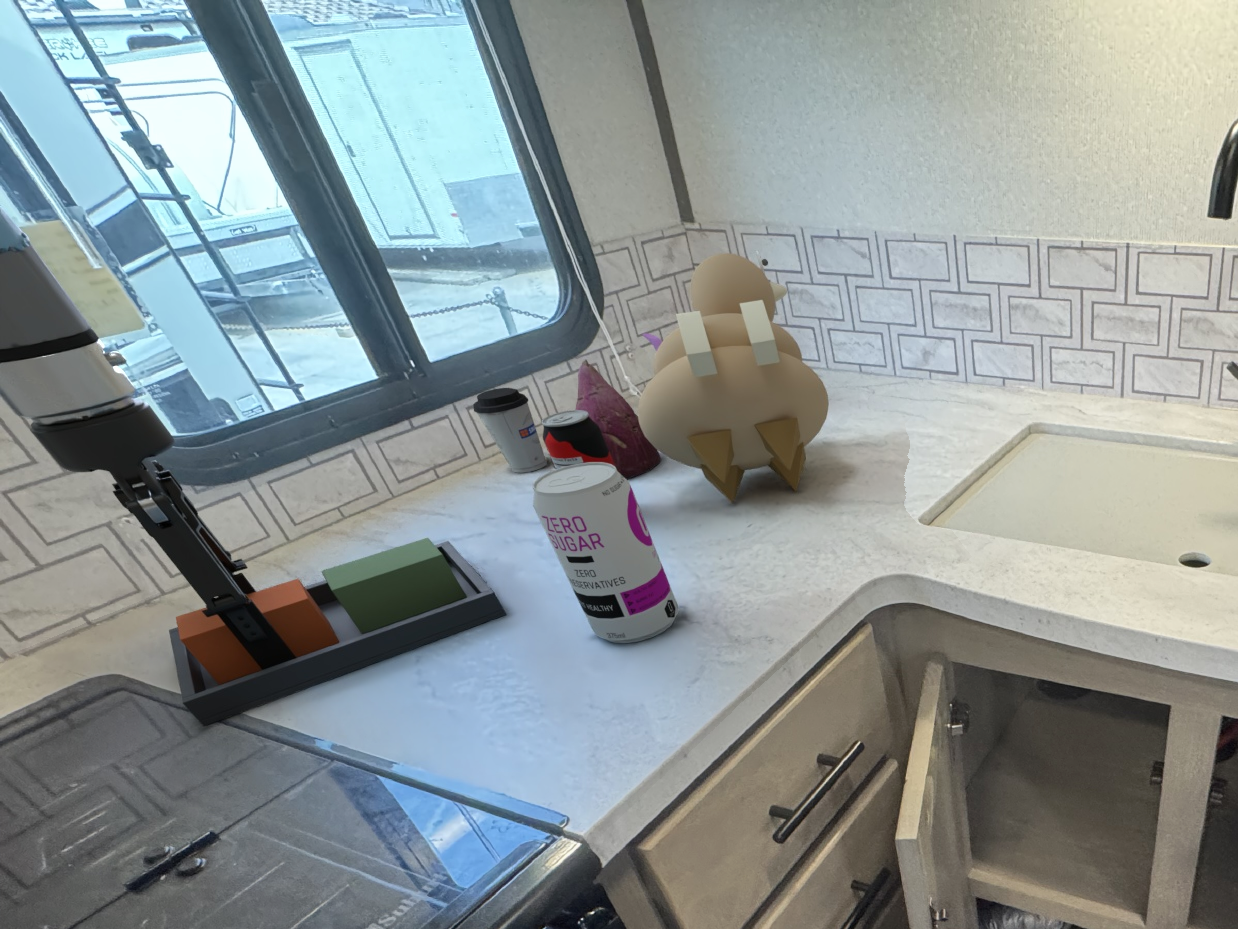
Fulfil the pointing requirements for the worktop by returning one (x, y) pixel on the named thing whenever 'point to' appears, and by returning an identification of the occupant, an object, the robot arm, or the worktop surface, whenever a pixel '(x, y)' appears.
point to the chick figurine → (732, 381)
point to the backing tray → (334, 647)
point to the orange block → (282, 609)
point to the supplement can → (605, 551)
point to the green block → (394, 585)
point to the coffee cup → (511, 428)
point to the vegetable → (615, 423)
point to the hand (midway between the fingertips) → (276, 651)
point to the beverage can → (574, 439)
